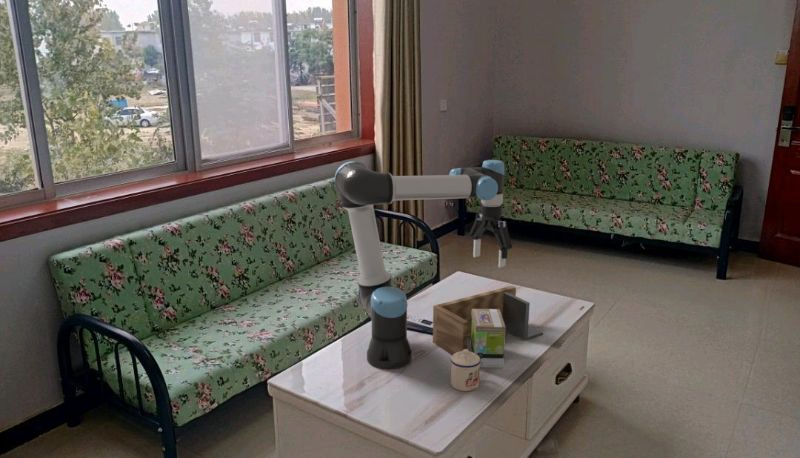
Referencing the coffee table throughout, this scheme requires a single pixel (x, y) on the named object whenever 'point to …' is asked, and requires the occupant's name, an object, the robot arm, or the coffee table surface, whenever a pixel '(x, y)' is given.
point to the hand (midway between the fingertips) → (488, 261)
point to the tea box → (488, 337)
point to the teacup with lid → (465, 370)
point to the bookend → (518, 317)
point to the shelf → (462, 318)
